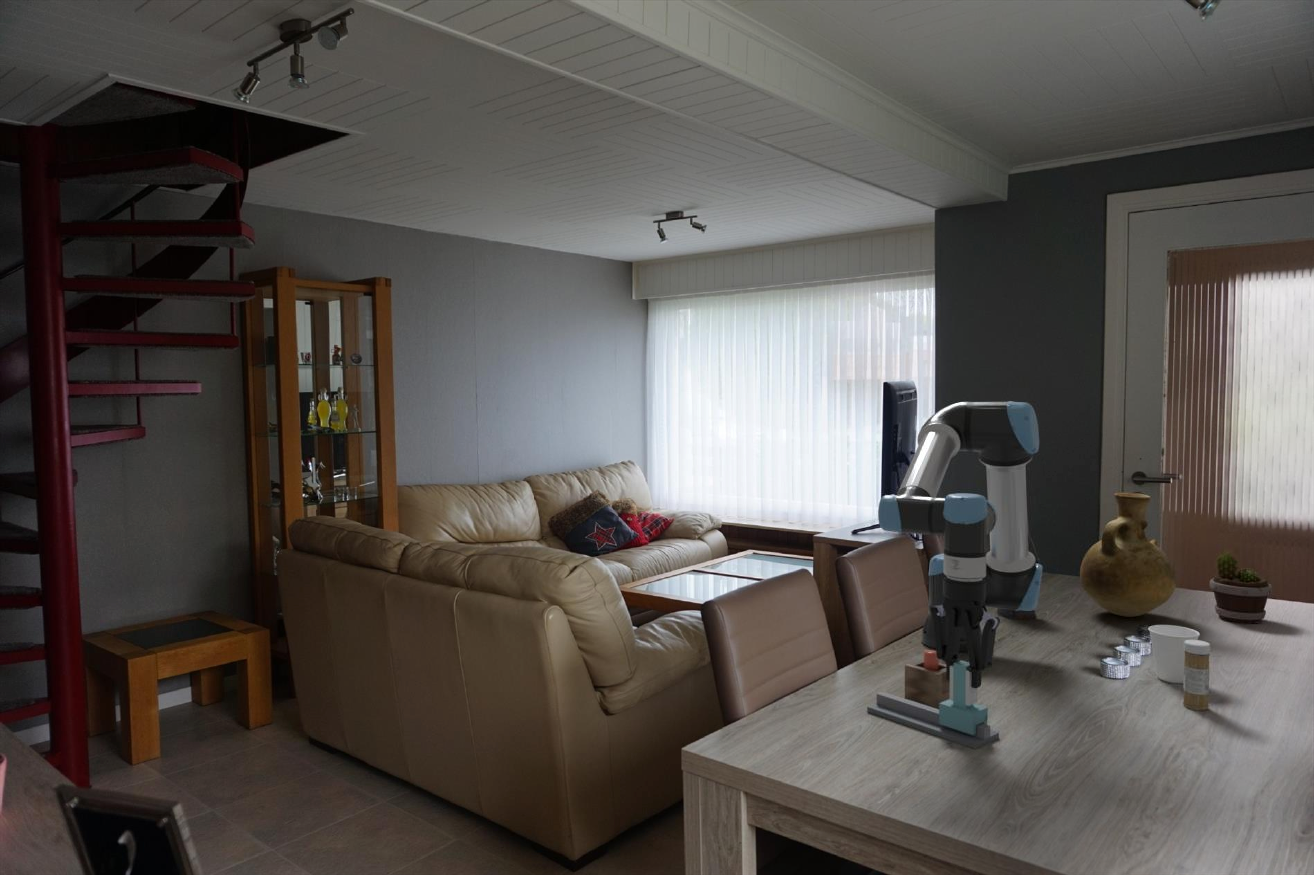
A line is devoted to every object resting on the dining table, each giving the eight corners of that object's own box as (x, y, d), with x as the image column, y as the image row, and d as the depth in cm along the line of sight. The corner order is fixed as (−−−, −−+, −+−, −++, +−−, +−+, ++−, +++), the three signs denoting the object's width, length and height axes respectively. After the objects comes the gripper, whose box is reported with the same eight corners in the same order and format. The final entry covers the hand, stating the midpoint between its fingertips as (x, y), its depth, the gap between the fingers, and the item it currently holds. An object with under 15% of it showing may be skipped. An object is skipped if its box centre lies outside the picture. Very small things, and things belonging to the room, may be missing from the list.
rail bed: (867, 711, 176) (867, 697, 176) (891, 702, 181) (891, 688, 181) (975, 748, 157) (975, 732, 157) (998, 737, 162) (999, 722, 162)
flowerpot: (1269, 616, 247) (1271, 546, 246) (1272, 629, 234) (1274, 555, 233) (1208, 610, 254) (1210, 542, 253) (1208, 622, 241) (1210, 550, 240)
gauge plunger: (920, 672, 183) (920, 651, 182) (929, 669, 185) (929, 649, 184) (933, 676, 180) (933, 655, 180) (941, 673, 182) (941, 652, 182)
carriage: (939, 724, 165) (939, 661, 164) (954, 717, 168) (954, 656, 167) (972, 735, 159) (973, 670, 159) (987, 728, 162) (988, 665, 162)
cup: (1206, 688, 188) (1207, 637, 188) (1156, 685, 190) (1157, 635, 190) (1188, 673, 198) (1189, 625, 197) (1140, 671, 200) (1141, 623, 199)
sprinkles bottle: (1191, 701, 180) (1193, 637, 179) (1213, 709, 176) (1215, 643, 175) (1177, 705, 178) (1179, 640, 177) (1199, 712, 174) (1201, 646, 173)
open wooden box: (904, 697, 184) (904, 665, 183) (924, 690, 188) (924, 658, 188) (937, 708, 177) (938, 674, 177) (957, 700, 182) (957, 667, 181)
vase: (1139, 631, 233) (1142, 501, 231) (1061, 611, 254) (1062, 492, 252) (1193, 620, 244) (1196, 495, 242) (1113, 602, 265) (1115, 487, 263)
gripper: (916, 573, 166) (915, 694, 167) (992, 587, 154) (991, 718, 155) (939, 568, 170) (938, 686, 172) (1014, 581, 158) (1013, 708, 159)
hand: (963, 701), depth 163 cm, fingers closed on carriage, 3 cm apart
